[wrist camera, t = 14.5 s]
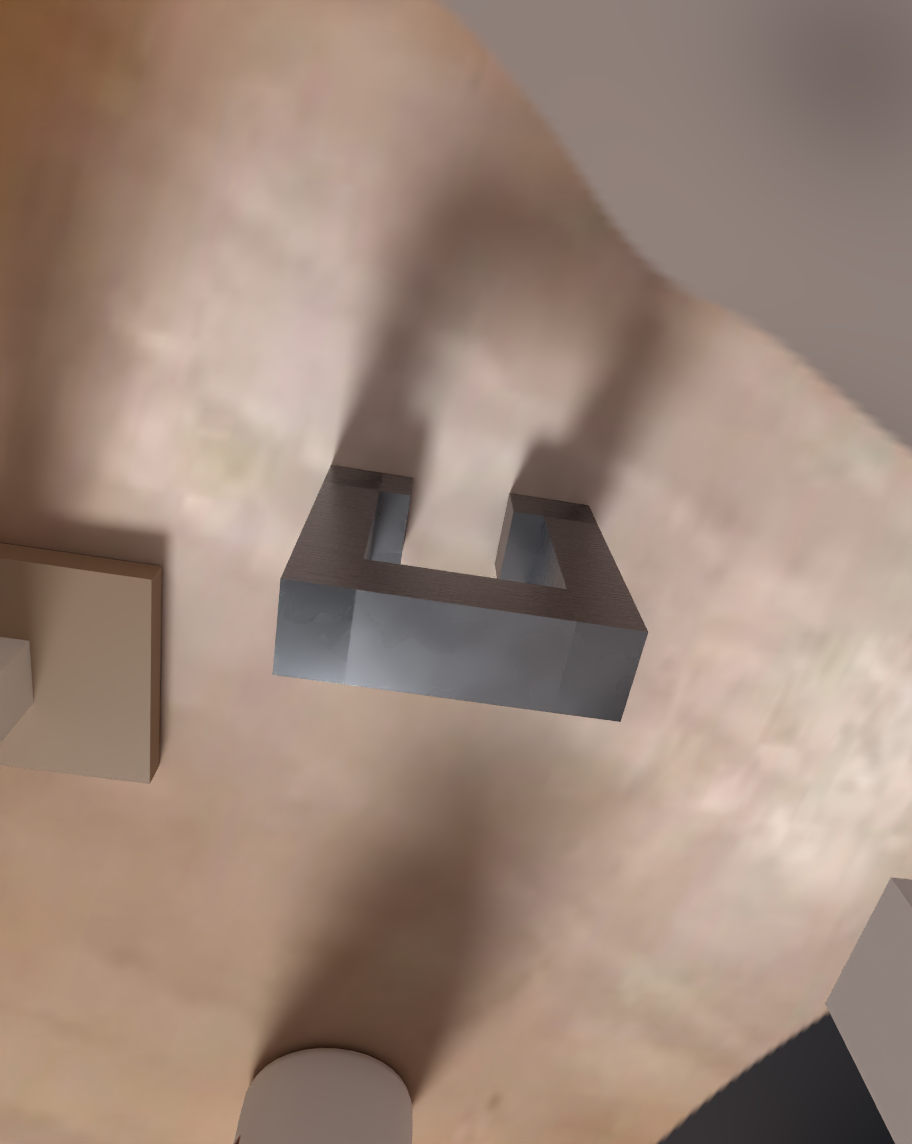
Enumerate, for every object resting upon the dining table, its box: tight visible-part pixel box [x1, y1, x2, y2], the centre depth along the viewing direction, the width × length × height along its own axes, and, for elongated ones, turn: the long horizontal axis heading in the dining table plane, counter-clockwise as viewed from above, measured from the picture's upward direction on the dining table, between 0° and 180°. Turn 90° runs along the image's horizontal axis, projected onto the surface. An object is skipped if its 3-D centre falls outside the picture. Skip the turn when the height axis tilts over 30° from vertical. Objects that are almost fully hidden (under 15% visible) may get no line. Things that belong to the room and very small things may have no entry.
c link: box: [273, 465, 648, 722], centre depth 21 cm, size 8×2×8 cm, turn 80°
